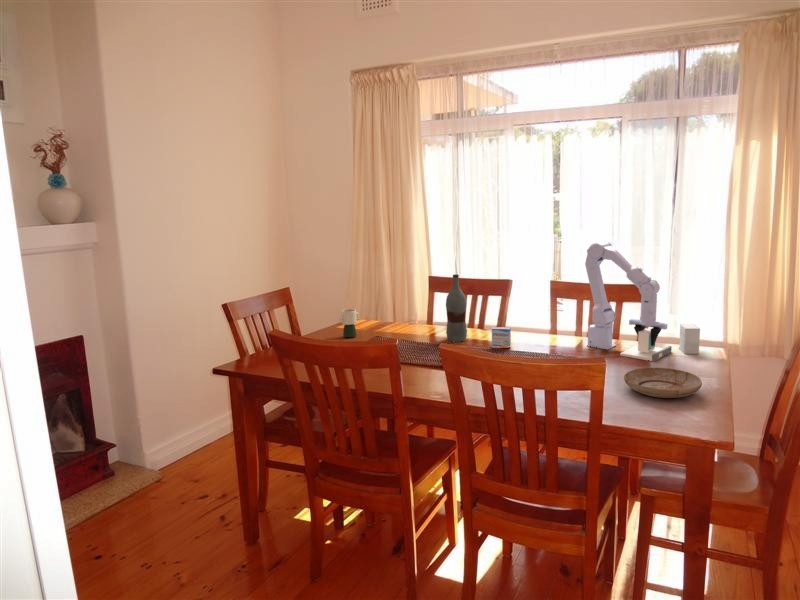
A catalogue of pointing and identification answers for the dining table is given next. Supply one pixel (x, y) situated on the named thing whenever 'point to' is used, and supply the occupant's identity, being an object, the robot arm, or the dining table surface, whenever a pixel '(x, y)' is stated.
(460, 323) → the bottle
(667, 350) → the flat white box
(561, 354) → the dining table surface
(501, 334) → the medicine box
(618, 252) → the robot arm
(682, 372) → the ceramic bowl
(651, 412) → the dining table surface
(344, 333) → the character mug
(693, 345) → the small box
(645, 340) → the carton
